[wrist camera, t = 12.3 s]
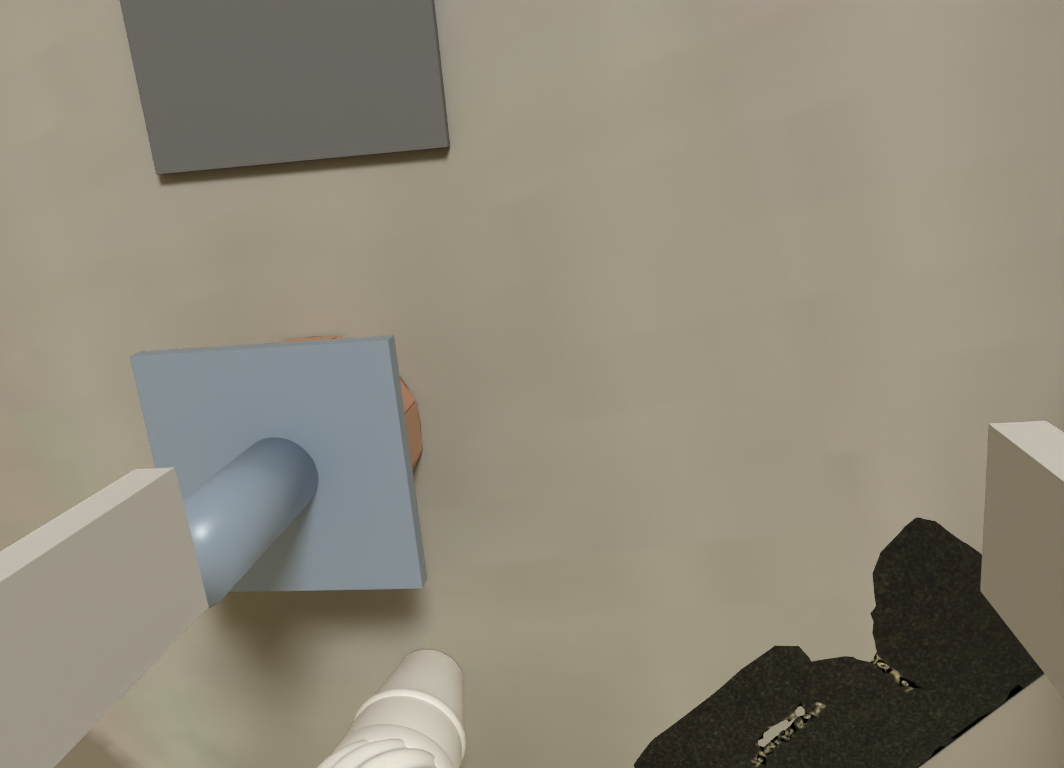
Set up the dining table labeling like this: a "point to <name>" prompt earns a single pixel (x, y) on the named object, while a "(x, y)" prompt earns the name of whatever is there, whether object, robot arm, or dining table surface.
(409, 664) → the soft serve ice cream cone
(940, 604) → the black flat irregular plate
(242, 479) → the lid
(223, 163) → the mat
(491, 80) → the dining table surface
